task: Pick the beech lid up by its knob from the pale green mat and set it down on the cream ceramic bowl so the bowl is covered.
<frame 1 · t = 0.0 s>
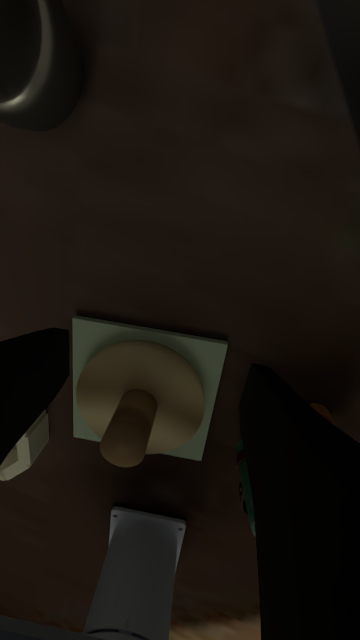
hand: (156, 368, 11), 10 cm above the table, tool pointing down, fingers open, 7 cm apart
mat: (143, 391, 23), on the table
bowl: (6, 418, 26), on the table
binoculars: (284, 443, 24), on the table
plastic bottle: (44, 74, 16), on the table
lid: (142, 395, 23), point 1 cm above the table, touching mat
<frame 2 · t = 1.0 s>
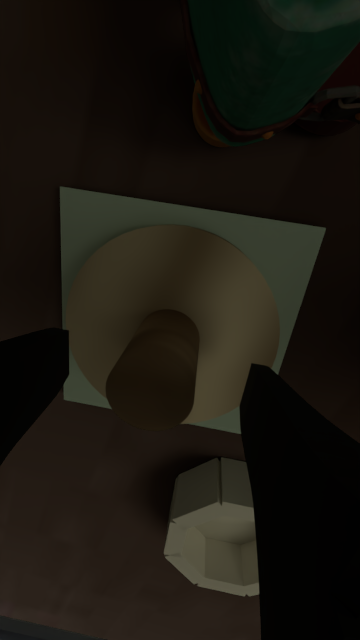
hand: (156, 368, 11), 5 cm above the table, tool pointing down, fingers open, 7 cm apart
mat: (173, 324, 15), on the table
bowl: (231, 504, 19), on the table
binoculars: (300, 18, 10), on the table
lid: (172, 328, 14), point 1 cm above the table, touching mat
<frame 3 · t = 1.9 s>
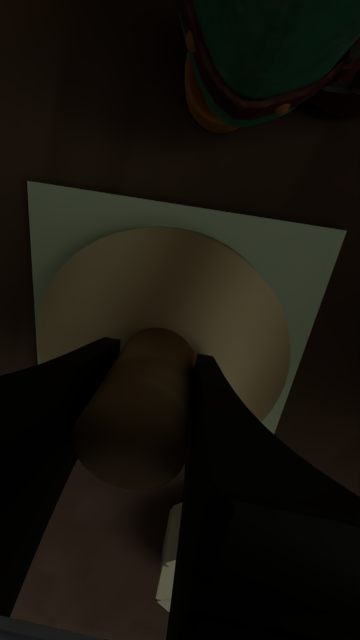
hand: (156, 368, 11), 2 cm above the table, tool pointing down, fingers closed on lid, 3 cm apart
mat: (165, 341, 13), on the table
bowl: (232, 538, 17), on the table
lid: (163, 347, 12), point 1 cm above the table, touching gripper, mat
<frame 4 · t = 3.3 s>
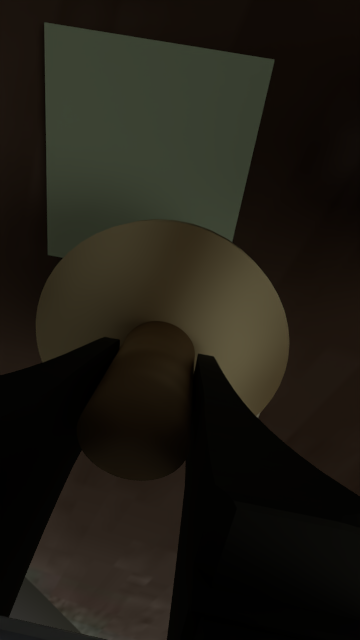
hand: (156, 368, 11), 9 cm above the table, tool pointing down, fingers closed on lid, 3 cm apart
mat: (146, 173, 17), on the table
lid: (162, 341, 12), point 7 cm above the table, touching gripper
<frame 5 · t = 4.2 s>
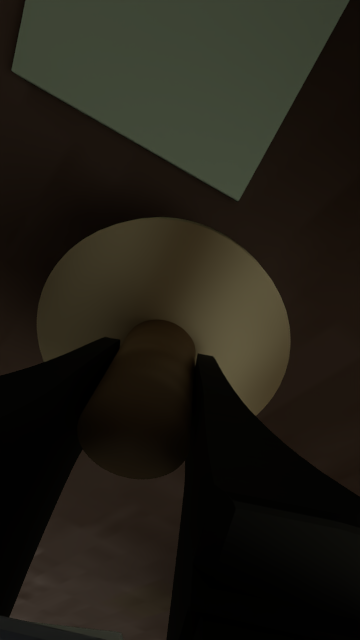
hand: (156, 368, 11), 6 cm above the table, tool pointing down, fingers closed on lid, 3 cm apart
external hard drive: (80, 635, 35), on the table
lid: (163, 339, 12), point 4 cm above the table, touching gripper
when the fingers open (6 cm above the table, at t = 4.5 s): lid drops 1 cm, resting on bowl.
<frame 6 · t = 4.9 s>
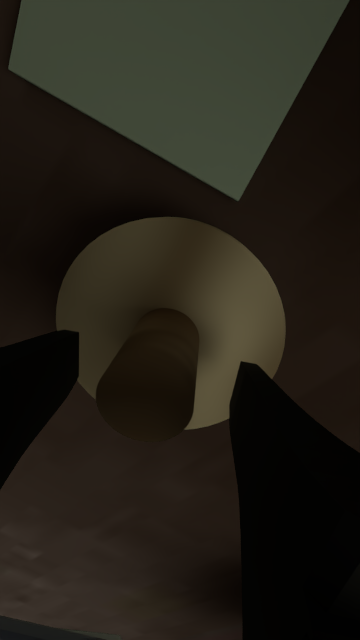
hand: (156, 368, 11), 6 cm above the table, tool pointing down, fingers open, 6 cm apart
external hard drive: (79, 638, 34), on the table
lid: (170, 329, 13), point 3 cm above the table, touching bowl
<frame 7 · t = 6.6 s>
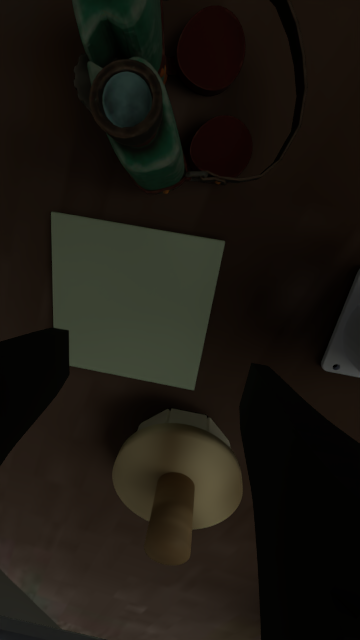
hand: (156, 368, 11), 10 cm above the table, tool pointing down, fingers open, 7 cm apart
mat: (131, 307, 21), on the table
bowl: (181, 447, 26), on the table
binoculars: (200, 112, 16), on the table
lid: (177, 472, 23), point 3 cm above the table, touching bowl
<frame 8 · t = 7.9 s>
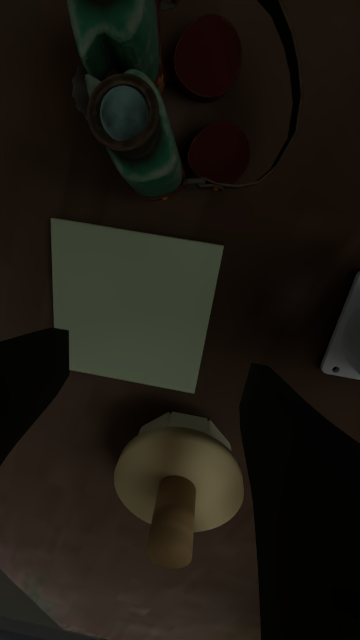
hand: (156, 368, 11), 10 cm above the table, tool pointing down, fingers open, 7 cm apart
mat: (131, 311, 21), on the table
bowl: (182, 450, 26), on the table
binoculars: (197, 118, 16), on the table
lid: (178, 475, 23), point 3 cm above the table, touching bowl
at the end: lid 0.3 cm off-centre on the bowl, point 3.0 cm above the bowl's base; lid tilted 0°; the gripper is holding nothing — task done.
